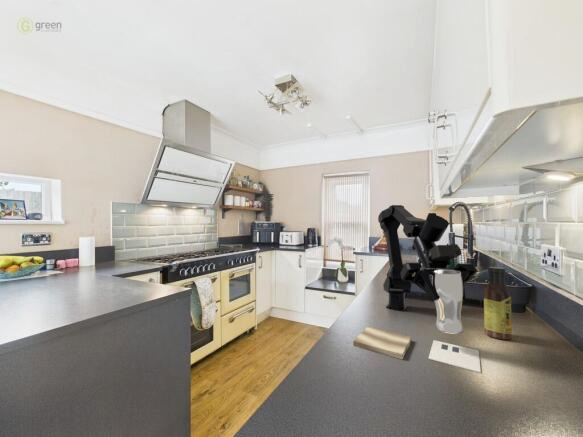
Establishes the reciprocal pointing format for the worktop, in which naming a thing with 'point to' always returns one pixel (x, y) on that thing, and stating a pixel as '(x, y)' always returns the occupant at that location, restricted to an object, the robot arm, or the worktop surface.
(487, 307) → the sauce bottle
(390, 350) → the birch board
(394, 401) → the worktop surface
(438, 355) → the card
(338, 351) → the worktop surface
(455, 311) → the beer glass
